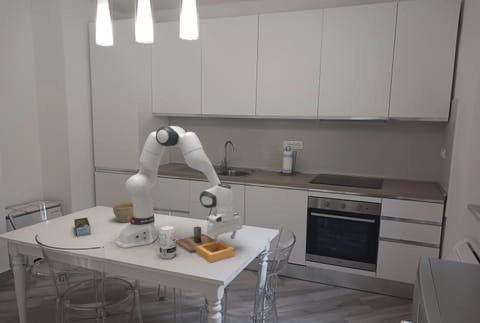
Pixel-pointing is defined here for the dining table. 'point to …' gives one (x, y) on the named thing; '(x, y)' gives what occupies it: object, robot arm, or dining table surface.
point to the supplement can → (167, 242)
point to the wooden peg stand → (194, 240)
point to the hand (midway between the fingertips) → (225, 240)
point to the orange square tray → (215, 256)
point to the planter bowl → (123, 211)
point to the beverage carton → (82, 227)
